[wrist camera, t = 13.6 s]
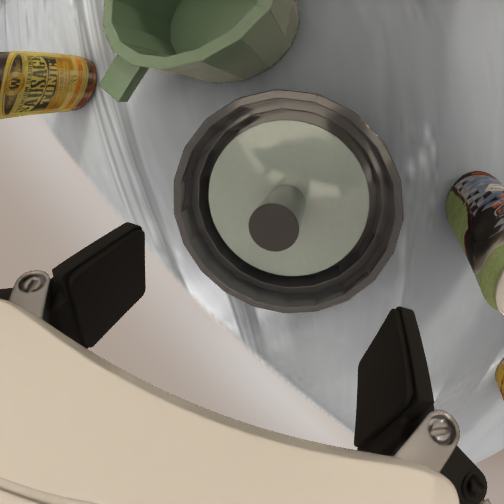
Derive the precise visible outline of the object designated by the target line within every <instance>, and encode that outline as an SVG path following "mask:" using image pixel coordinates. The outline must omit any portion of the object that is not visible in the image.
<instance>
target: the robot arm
mask: <svg viewBox="0 0 504 504" xmlns="http://www.w3.org/2000/svg"><path fill="white" fill-rule="evenodd" d="M52 272H53V278H52V279H50V277H49V275H48V274H47V273H46V272H44V271H40V270H34V271H30V272H27V273H25V274H23V275H21V276H20V277H19V278H18V279H17V281H16V282H15V285H14V287H13V288H8V289H0V504H491V503H490V501H489V499H486V500H484V497H485V495H486V492H487V481H486V479H485V476H484V475H483V473H482V472H481V471H480V470H479V469H478V468H477V467H476V465H475V464H474V463H473V462H472V461H471V460H470V459H469V458H468V457H467V456H466V455H465V454H464V453H463V452H462V451H461V449H460V448H459V447H458V446H457V443H458V441H459V438H460V430H459V426H458V424H457V422H456V420H455V419H454V418H453V416H452V415H450V414H449V413H447V412H445V411H442V410H435V411H434V404H433V403H434V399H433V393H432V387H431V382H430V376H429V371H428V367H427V362H426V357H425V353H424V349H423V345H422V340H421V336H420V333H419V329H418V325H417V321H416V318H415V314H414V312H413V310H410V309H407V308H403V307H400V306H399V307H397V308H396V309H392V310H391V311H390V312H389V314H388V316H387V318H386V319H385V321H384V323H383V325H382V326H381V328H380V330H379V331H378V333H377V335H376V336H375V338H374V340H373V341H372V343H371V345H370V346H369V348H368V349H367V351H366V353H365V354H364V356H363V357H362V359H361V361H360V363H359V366H358V389H357V410H356V425H355V437H354V445H355V446H356V447H358V450H351V449H346V448H341V447H335V446H331V445H326V444H321V443H317V442H312V441H308V440H303V439H299V438H295V437H292V436H288V435H284V434H280V433H277V432H273V431H270V430H266V429H263V428H259V427H256V426H253V425H250V424H247V423H244V422H241V421H238V420H235V419H232V418H230V417H227V416H224V415H221V414H218V413H216V412H213V411H210V410H208V409H205V408H203V407H201V406H198V405H196V404H193V403H191V402H189V401H186V400H184V399H182V398H179V397H177V396H175V395H173V394H170V393H168V392H166V391H164V390H161V389H160V388H157V387H155V386H153V385H151V384H149V383H147V382H145V381H143V380H141V379H139V378H137V377H135V376H133V375H131V374H130V373H128V372H126V371H124V370H122V369H120V368H119V367H117V366H115V365H113V364H111V363H110V362H108V361H106V360H105V359H102V358H101V357H99V356H98V355H96V354H94V353H93V352H91V351H89V350H88V348H89V347H93V346H94V345H95V344H96V343H97V342H98V341H99V340H100V339H101V338H102V337H103V335H105V333H107V332H108V330H109V329H110V328H111V327H112V326H113V325H114V324H115V323H116V322H117V321H118V320H119V319H120V318H121V317H122V316H123V315H124V314H125V313H126V312H127V311H128V310H129V309H130V308H131V307H132V306H133V305H134V304H135V303H136V302H137V301H138V300H139V299H140V298H141V297H142V296H143V294H144V292H145V234H144V232H143V231H142V228H141V227H140V226H138V225H135V224H132V223H129V222H127V223H125V224H123V225H121V226H120V227H118V228H116V229H114V230H113V231H111V232H109V233H108V234H106V235H105V236H103V237H101V238H100V239H98V240H97V241H95V242H94V243H92V244H90V245H88V246H87V247H85V248H84V249H82V250H81V251H79V252H77V253H76V254H75V255H73V256H71V257H70V258H68V259H67V260H65V261H64V262H62V263H61V264H59V265H58V266H57V267H55V268H54V269H52Z"/></svg>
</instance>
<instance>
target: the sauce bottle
mask: <svg viewBox="0 0 504 504" xmlns="http://www.w3.org/2000/svg"><path fill="white" fill-rule="evenodd" d="M95 70H96V69H95V66H94V65H93V63H91V62H90V61H89V60H87V59H84V58H82V57H79V56H72V55H62V54H55V53H44V52H27V51H12V52H0V119H4V118H11V117H18V116H25V115H33V114H43V113H55V112H67V111H70V110H72V111H73V110H77V109H79V108H81V107H83V106H84V105H85V104H86V103H87V102H88V100H89V99H90V97H91V96H92V94H93V91H94V88H95V86H96V72H95Z"/></svg>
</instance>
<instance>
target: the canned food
mask: <svg viewBox="0 0 504 504" xmlns="http://www.w3.org/2000/svg"><path fill="white" fill-rule="evenodd" d="M495 377H496V381H497V383H498V386H499V389H500V392H501V394H502V397H503V400H504V359H503V360H502V361H501V363H500V364H499V366H498V368H497V370H496V373H495Z"/></svg>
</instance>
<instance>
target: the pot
mask: <svg viewBox="0 0 504 504" xmlns="http://www.w3.org/2000/svg"><path fill="white" fill-rule="evenodd" d="M298 25H299V13H298V8H297V1H296V0H105V3H104V15H103V30H104V32H105V35H106V37H107V39H108V41H109V44H110V46H111V48H112V50H113V52H115V53H116V54H117V56H116V57H115V59H114V60H113V62H112V64H111V65H110V67H109V69H108V70H107V72H106V74H105V76H104V77H103V79H102V81H101V83H100V84H99V86H100V87H101V88H103V89H104V90H105V91H106V92H107V93H108V94H110V95H111V96H112V97H113V98H114V99H116V100H117V101H118V102H128V100H129V98H130V97H131V95H132V93H133V92H134V90H135V89H136V87H137V86H138V84H139V82H140V81H141V79H142V78H143V76H144V75H145V73H146V72H147V70H148V69H154V70H159V71H164V72H168V73H173V74H177V75H181V76H185V77H190V78H194V79H199V80H203V81H208V82H212V83H227V82H235V81H240V80H244V79H247V78H250V77H253V76H255V75H257V74H259V73H261V72H263V71H265V70H267V69H268V68H269V67H271V66H272V65H274V64H275V63H276V62H277V61H278V60H279V59H280V58H281V57H282V56H283V55H284V54H285V53H286V52H287V50H288V49H289V47H290V46H291V44H292V42H293V40H294V38H295V36H296V33H297V29H298Z"/></svg>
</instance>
